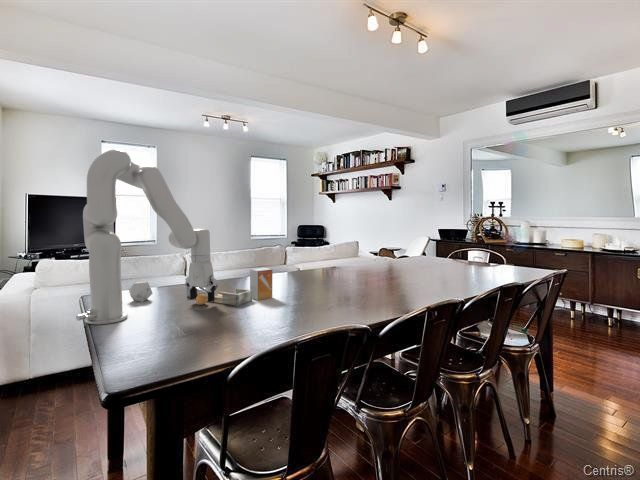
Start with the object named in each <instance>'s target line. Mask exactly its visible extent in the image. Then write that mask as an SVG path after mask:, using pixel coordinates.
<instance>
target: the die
mask: <svg viewBox="0 0 640 480" xmlns="http://www.w3.org/2000/svg"><path fill="white" fill-rule="evenodd" d="M128 291H129V292H128V293H129V296H130V297H131V299H132V300H133V301H134V302H140V303H144V302H145V301H147V300H148V299H149V298H150V297H151V296H152V295H153V290H152V287H151V286H150V284H149V282H147V281H137V282H135V283H133V284H132V286H130V288H129V289H128Z"/></svg>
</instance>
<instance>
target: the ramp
mask: <svg viewBox="0 0 640 480" xmlns="http://www.w3.org/2000/svg"><path fill="white" fill-rule="evenodd" d="M184 283H185V284H184V285H185V287H186V297H189V298H190V290H189V287H188V286H187V282H186V280H185V281H184ZM195 289H197V296H198V295H199V294H204V295H206V296H208V292H209V291H208V289H207V288H206V287H205V288H202V287H196V288H195ZM214 296H217V293H215V292H214Z"/></svg>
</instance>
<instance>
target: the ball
mask: <svg viewBox="0 0 640 480" xmlns="http://www.w3.org/2000/svg"><path fill="white" fill-rule="evenodd" d="M195 301H196V303H197V304H198V305H200V306H201V305H205V304H206V303H207V302H208V301H207V297H206V295H204V294H199V293H198V295H197V297H196V298H195Z"/></svg>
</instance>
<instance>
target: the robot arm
mask: <svg viewBox="0 0 640 480" xmlns="http://www.w3.org/2000/svg"><path fill="white" fill-rule="evenodd" d="M117 180H118V181H121V182H123V183H124V184H127V185H131V186H132V187H133V186H134V187H136V188H138V189H142V191H143V193H144V194H145V197H146V199H147V201H148V203H149V205H150V206H151V208H152V210H153V211H154V213H155V214H156V215H157V216H159V217H160V218H161V219H162V220H163V221H165V223H166V224H167V226H168V227H169V229H170V230H171V231H170V233H169V235H168V242H169V243H170V245H171V246H173V247H175V248H178V249H183V250H190V262H189V267H188V276H187V277H186V278H185V279H184V280H185V281H186V282H187V286H188V287H189V290H190V297H189V298H190V300H194V299H195V300H196V297H197V296H198V295H197V289H195V288H196V287H198V288H199V287H202V288H206V289H208V291H209V292H208V301H207V302H209V303H211V301H214V300H215V296H214V293H215V292H216V290H217V288H218V286H219V284H220V283H219V282H220V281H219V280H218V279H216V278H215V277H214V275H215V274H214V268H213V264H212V261H211V236H210V235H211V233H210V230H209V229H207V228H193V226H192V223H191V222H190V220H189V218H188V216H187V215H186V214H185V212H184V211H183V210H182V208H181V207H180V206H179V204H178V203H177V201H176V200H175V197H174V196H173V194H172V193H171V190H170V188H169V186H168V184H167V182H166V180H165V178H164V176H163V174H162V172H161V171H160V169H159V168H157V167H156V166H154V165H150V164H149V165H141V164H137V163H135V162H133V161H132V159H131V156H130V155H129V153H127V152H126V151H124V150H123V149H120V148H115V149H114V148H113V149H110V150H107V151H104V152H103V153H101V154H99V155H98V156H97V157H96V158H95V159H94V161H92V162H91V164H90V166H89V168H88V171H87V174H86V204H85V206H84V207H83V210H82V223H83V224H82V225H83V237H84V245H85V247H86V249H87V251H88V270H89V271H88V272H89V273H88V276H89V292H90V308H88V309H87V311H85V313H80V314H77V315H76V316H75V319H76V321H82V320H85V321H86V323H87V324H89V325H95V326H97V325H108V324H109V325H110V324H114V323H119V322H122V321H124V320H126V319H127V318H128V313H127V312H125V311H123V291H122V289H123V287H122V286H123V285H122V263H121V262H122V260H121V259H122V242H121V239H120V238H119V236H118V235H117V234H116V233H115V228H114V223H115V222H116V220H117V217H118V210H117V199H116V198H117V197H116V184H117ZM187 286H186V287H187Z"/></svg>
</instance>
